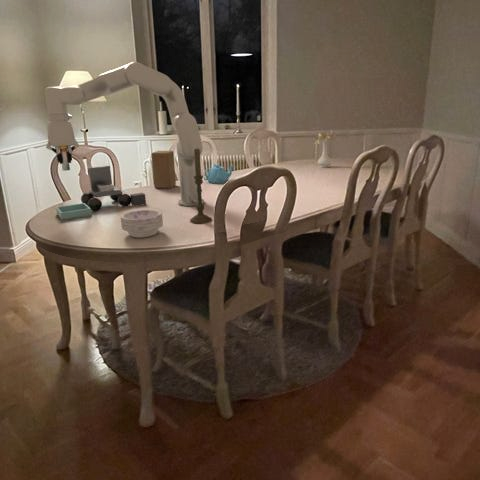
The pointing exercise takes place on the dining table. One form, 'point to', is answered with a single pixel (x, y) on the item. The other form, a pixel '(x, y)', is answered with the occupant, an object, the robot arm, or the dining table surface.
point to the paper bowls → (142, 223)
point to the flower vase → (324, 147)
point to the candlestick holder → (199, 193)
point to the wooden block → (163, 169)
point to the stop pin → (64, 158)
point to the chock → (138, 199)
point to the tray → (73, 211)
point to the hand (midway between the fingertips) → (65, 162)
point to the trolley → (103, 189)
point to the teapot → (218, 174)
